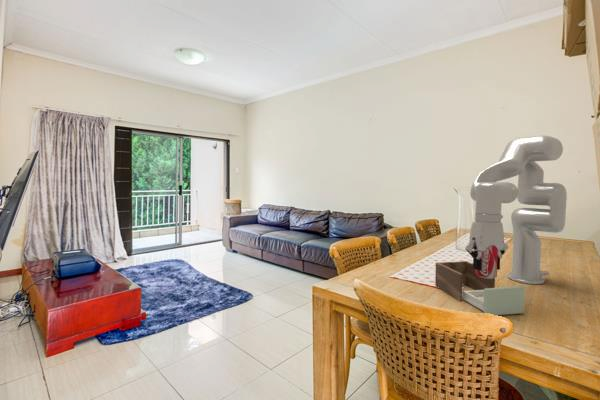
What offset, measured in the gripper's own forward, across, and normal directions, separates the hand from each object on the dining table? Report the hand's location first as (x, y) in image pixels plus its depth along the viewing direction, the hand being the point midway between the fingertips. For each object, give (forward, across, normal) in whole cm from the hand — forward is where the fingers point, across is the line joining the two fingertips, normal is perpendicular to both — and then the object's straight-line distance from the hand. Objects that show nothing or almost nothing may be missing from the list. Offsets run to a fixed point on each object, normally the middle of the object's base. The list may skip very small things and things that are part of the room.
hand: (486, 268), depth 99 cm
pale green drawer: (+13, 0, 0) cm, 13 cm away
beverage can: (+3, 0, 0) cm, 3 cm away
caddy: (+13, 0, -11) cm, 17 cm away
